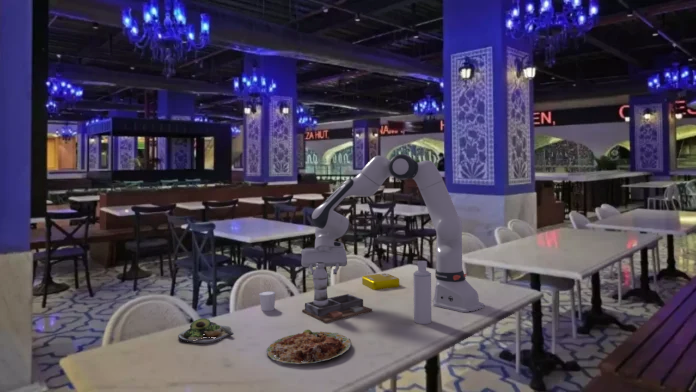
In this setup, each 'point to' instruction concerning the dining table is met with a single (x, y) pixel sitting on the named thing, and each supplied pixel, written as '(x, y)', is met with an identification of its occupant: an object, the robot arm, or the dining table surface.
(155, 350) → the dining table surface
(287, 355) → the rice dish
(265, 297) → the white cup
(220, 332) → the salad plate
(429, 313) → the white bottle
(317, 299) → the plastic bottle
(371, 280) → the element tile
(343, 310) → the socket board
